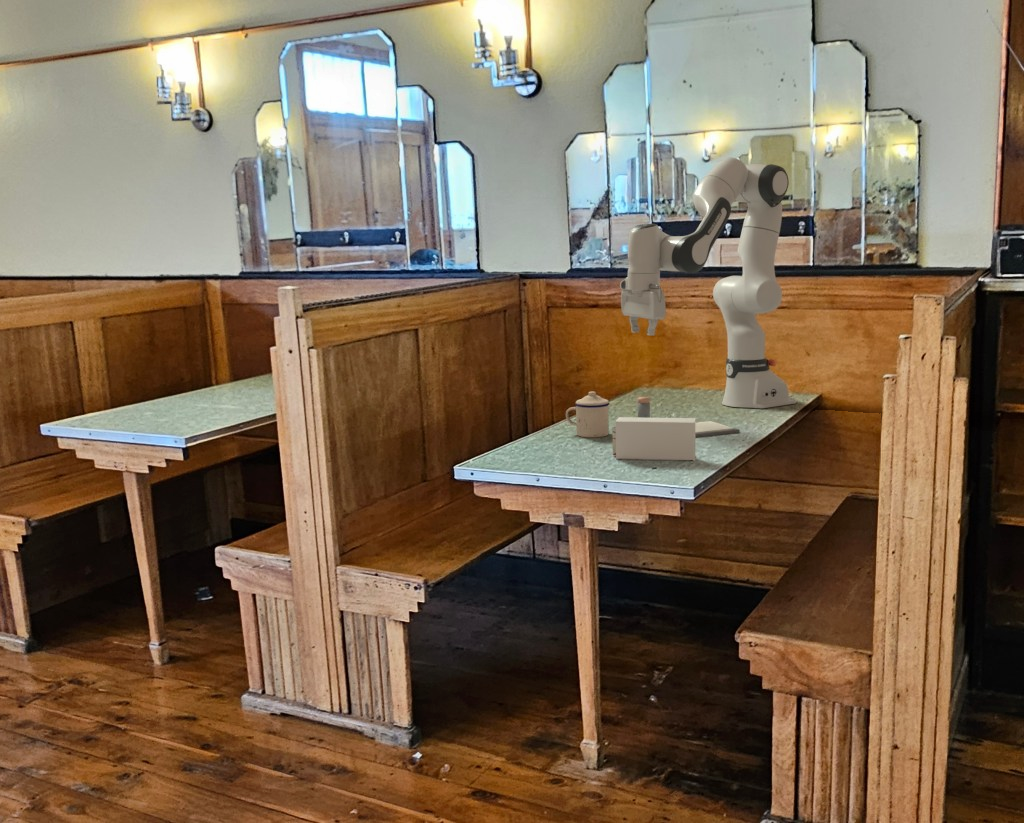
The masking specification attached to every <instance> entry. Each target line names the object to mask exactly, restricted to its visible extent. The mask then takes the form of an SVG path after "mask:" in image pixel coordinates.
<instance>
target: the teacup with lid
mask: <svg viewBox="0 0 1024 823" xmlns="http://www.w3.org/2000/svg"><path fill="white" fill-rule="evenodd" d="M587 394H588V395H585V396H584V397H582V398H581V399H580V398H579V399H577V400H576V401H575V403H574V404H575V406H572V407H569V408H568V409H567V410H566V411H565V419H566V421H567V422H568V424H570V425H571V426H575V427H576V435H577V436H578V437H582V438H589V439H590V438H592V439H594V438H604V437H606V436H609V434H610V424H609V422H610V418H609V417H610V415H609V414H610V413H609V412H610V410H609V409H610V407H609V405H610V402H609V400H608V399H606V398H604V397H601V396H600V395H598V394H597V392H596V391H589V392H588V393H587ZM571 411H575V413H576V415H575V416H576V421H572V420H571V418H570V412H571Z"/></svg>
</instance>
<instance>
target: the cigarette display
mask: <svg viewBox="0 0 1024 823" xmlns="http://www.w3.org/2000/svg"><path fill="white" fill-rule="evenodd" d="M696 420H697V418H695V417H693V418H691V417H688V418H687V417H650V418H641V417H638V416H637V417H635V416H634V417H632V416H631V417H630V416H629V417H625V416H620V417H618V418H617V419H616V420H615V426H613V427H612V456H615V459H616V460H643V461H678V460H693V461H692V462H696V458H697V455H696V437H695V423H696V422H697V421H696ZM695 457H696V458H695Z"/></svg>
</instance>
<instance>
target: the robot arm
mask: <svg viewBox="0 0 1024 823" xmlns="http://www.w3.org/2000/svg"><path fill="white" fill-rule="evenodd" d="M789 183H790V181H789V176H788V173H787V171H786V169H785V168H784V167H783V166H780V165H777V164H772V163H771V164H770V163H769V164H764V163H750V164H745V163H744V162H743V161H742V160H740V159H739V158H736V157H725V158H724V159H722V160H721V161H719V162H718V163H717V164H716V165H714V166H713V167H712V168H711V169H710V171H708V172H707V174H705V176H704V177H703V178H702V180H700V182H699V183H698V185H697V186H696V187H695V189H694V191H693V193H692V202H693V205H694V207H695V209H696V211H697V212H698V213H699V214H700V216H701V217H703V219H702V221H701V222H700V224H699V225H698V227H697V228H696V230H695V231H694V232H692V233H690V234H686V235H683V236H682V235H681V236H680V235H677V236H676V235H675V236H674V235H670V234H667V233H666V232H663V230H661V228H660V227H659V226H658V224H656V223H644V224H638V225H635V226H634V227H631V229H630V231H629V234H628V235H629V236H628V242H627V260H628V269H627V277H625V278H624V279H623V280H621V281H620V284H619V288H620V290H621V293H620V300H621V301H620V307H621V313H622V315H623V316H629V318H628V319H629V324H630V326H631V328H630V329H631V330H630V331H631V333H634V334H635V333H636V334H637V333H640V326H639V323H638V320H639V318H642V319H647V320H648V321H647V322H648V327H647V328H646V335H647V336H651V337H652V336H655V335H656V328H657V326H658V320H665V317H666V315H667V312H666V311H667V310H666V308H667V307H666V297H665V293H664V292H663V289H662V288H661V286H660V284H661V280H660V278H661V276H660V275H661V272H663V271H664V272H666V271H667V272H681V273H688V274H695V273H698V272H699V271H701V270H702V269H703V268H704V266H705V265H706V263H707V262H708V258H709V255H710V253H711V250H712V248H713V246H714V244H715V243H716V241H717V239H718V238H719V236H720V234H721V233H722V230H723V229H724V228H725V225H726V224H727V222H728V220H729V218H730V216H731V213H732V205H733V203H735V202H741V203H746V204H747V210H746V213H745V217H744V220H743V224H742V229H741V233H740V237H739V241H738V246H737V250H736V253H737V256H738V258H739V259H740V261H741V264H742V275H730V276H727V277H723V278H721V279H719V280H718V281H717V282H716V283H715V285H714V287H713V290H712V298H713V300H714V303H715V304H716V306H717V307H718V308H719V309H720V311H721V314H722V317H723V320H724V324H725V329H726V334H727V335H726V337H727V357H726V360H725V373H726V381H725V382H726V383H725V390H724V395H723V399H722V402H721V404H722V405H723V406H727V407H733V408H734V407H735V408H746V409H747V408H751V409H752V408H754V409H767V408H768V409H769V408H775V407H780V406H787V405H793V404H794V405H795V404H796V403H797V399H795V398H794V397H790V396H789V388H788V387H789V386H788V385H787V382H786V381H785V380H783V379H782V378H781V377H779V376H778V375H777V374H775V373H774V372H773V371H772V370H770V368H771V367H776V365H777V361H776V359H772V358H770V359H769V358H766V356H765V354H766V348H765V347H766V334H765V333H766V332H765V330H764V329H763V328H762V327H761V325H760V324H759V321H758V319H757V315H761V314H766V313H770V312H773V311H775V310H777V309H778V307H779V306H780V305H781V302H782V300H783V290H782V288H781V287H782V286H781V285H780V284H779V282H778V280H777V278H776V273H775V272H776V270H775V256H776V252H777V246H778V242H779V236H780V233H781V227H782V218H783V204H782V203H783V202H782V201H783V200H784V197H785V196H786V194H787V192H788V189H789V185H790V184H789Z"/></svg>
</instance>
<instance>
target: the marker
mask: <svg viewBox="0 0 1024 823" xmlns="http://www.w3.org/2000/svg"><path fill="white" fill-rule="evenodd" d="M636 399H637V417H641V418H651V397H650V396H640V397H637V398H636Z"/></svg>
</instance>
